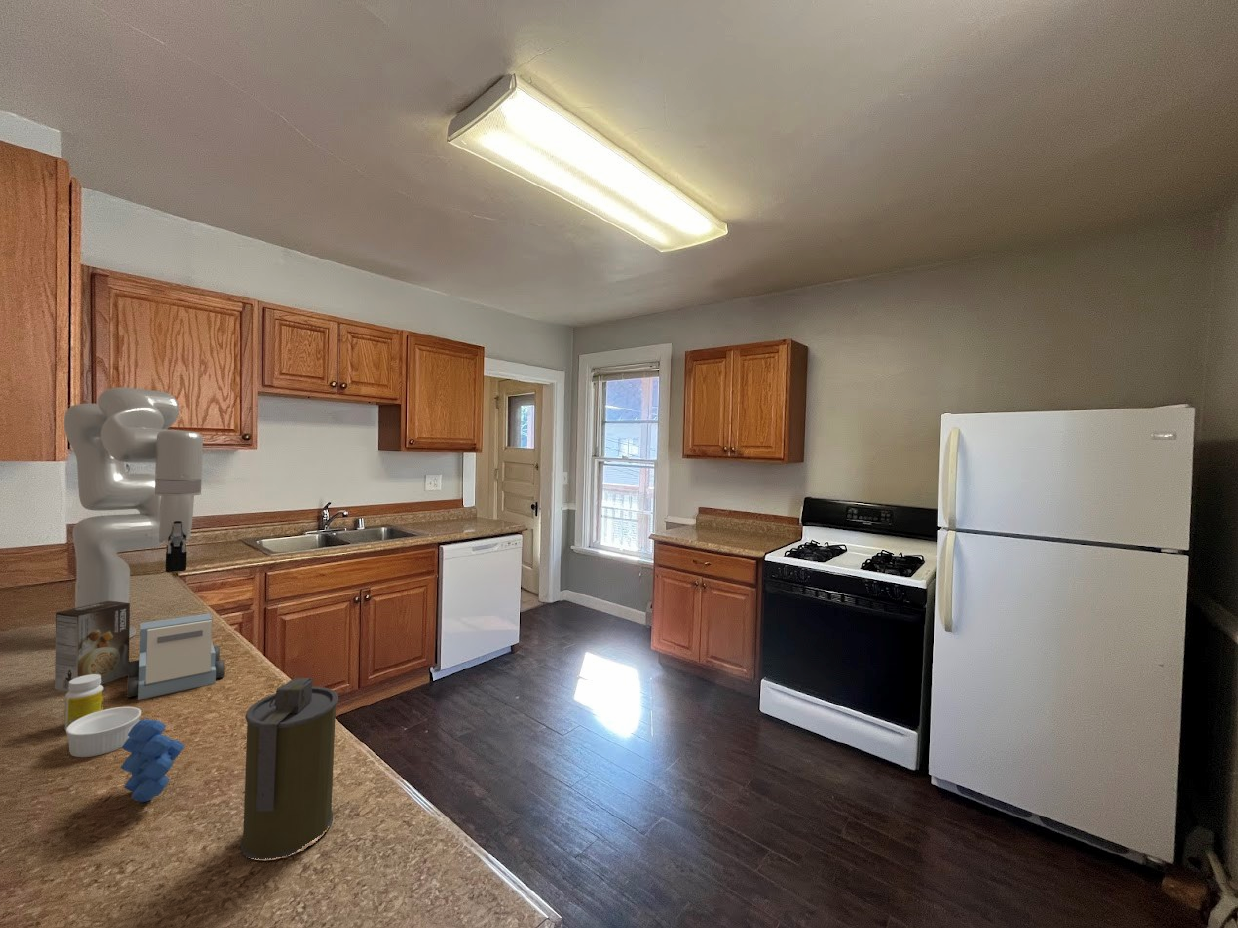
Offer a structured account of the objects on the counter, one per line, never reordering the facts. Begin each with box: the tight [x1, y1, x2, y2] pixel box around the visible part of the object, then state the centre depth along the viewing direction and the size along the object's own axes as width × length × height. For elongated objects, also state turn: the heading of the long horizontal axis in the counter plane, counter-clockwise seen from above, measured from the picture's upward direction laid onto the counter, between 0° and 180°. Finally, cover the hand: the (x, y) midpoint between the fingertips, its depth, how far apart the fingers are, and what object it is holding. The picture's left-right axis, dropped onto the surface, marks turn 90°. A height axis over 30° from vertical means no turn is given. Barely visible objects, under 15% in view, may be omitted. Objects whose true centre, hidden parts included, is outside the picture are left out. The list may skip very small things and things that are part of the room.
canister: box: [240, 677, 339, 859], centre depth 67 cm, size 11×10×20 cm
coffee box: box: [54, 601, 131, 693], centre depth 104 cm, size 9×6×16 cm
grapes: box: [120, 718, 186, 803], centre depth 72 cm, size 12×7×12 cm, turn 59°
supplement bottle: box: [63, 674, 104, 731], centre depth 89 cm, size 5×5×8 cm
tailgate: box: [144, 620, 213, 686], centre depth 102 cm, size 1×10×11 cm, turn 134°
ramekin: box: [65, 706, 142, 758], centre depth 84 cm, size 9×9×4 cm
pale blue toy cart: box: [126, 612, 226, 701], centre depth 108 cm, size 16×15×11 cm
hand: (175, 566), depth 107 cm, fingers open, 9 cm apart
